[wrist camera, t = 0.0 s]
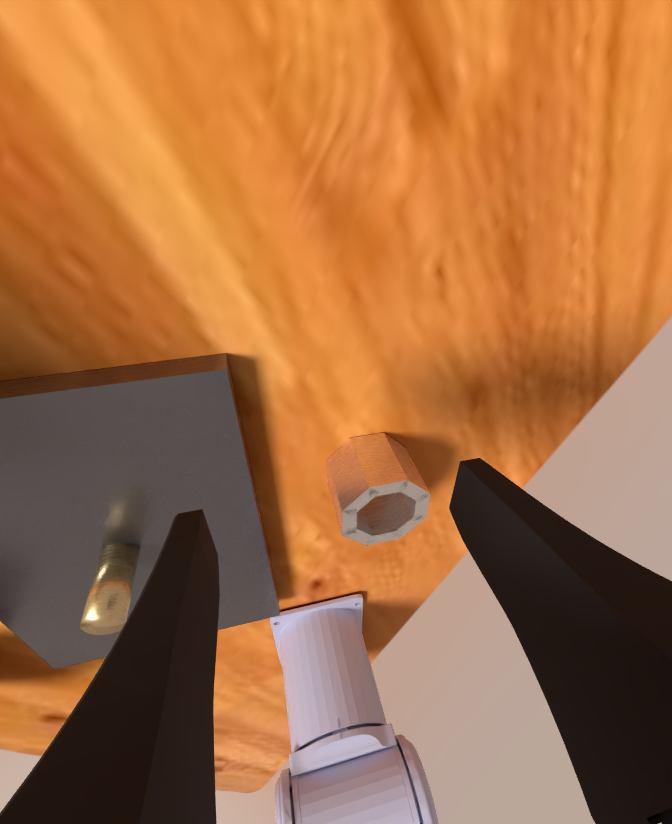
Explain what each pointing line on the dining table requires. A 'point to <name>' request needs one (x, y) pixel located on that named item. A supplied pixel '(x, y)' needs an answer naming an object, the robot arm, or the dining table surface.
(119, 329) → the dining table surface
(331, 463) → the steel ring
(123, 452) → the pin plate
